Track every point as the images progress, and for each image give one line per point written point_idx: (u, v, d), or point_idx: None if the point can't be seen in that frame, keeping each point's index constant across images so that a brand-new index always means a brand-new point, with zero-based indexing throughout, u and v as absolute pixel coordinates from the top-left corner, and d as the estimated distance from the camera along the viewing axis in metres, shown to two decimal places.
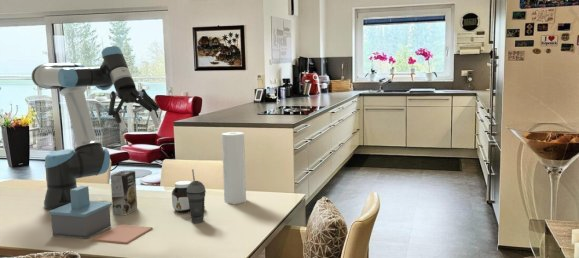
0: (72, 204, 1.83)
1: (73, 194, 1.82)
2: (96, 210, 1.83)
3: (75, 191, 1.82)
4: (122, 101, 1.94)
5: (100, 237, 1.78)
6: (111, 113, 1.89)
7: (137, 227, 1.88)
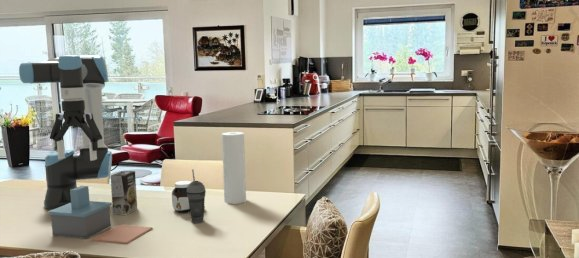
0: (72, 204, 1.83)
1: (73, 194, 1.82)
2: (96, 210, 1.83)
3: (75, 191, 1.82)
4: (63, 127, 1.82)
5: (100, 237, 1.78)
6: None
7: (137, 227, 1.88)
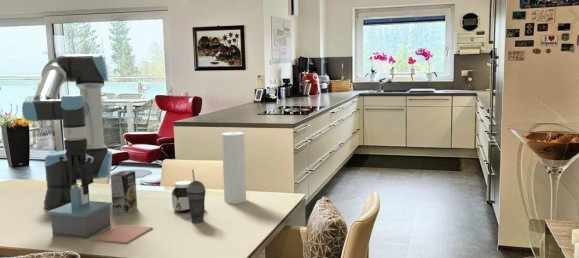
0: (72, 204, 1.83)
1: (73, 194, 1.82)
2: (96, 210, 1.83)
3: (75, 191, 1.82)
4: (70, 168, 1.83)
5: (100, 237, 1.78)
6: None
7: (137, 227, 1.88)
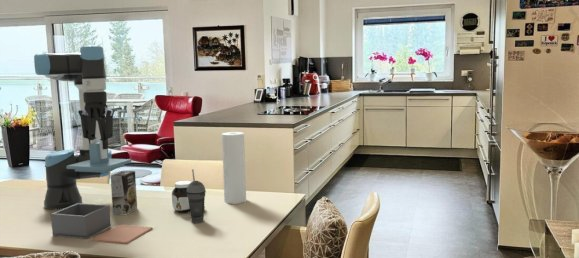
0: (91, 159, 1.78)
1: (92, 148, 1.77)
2: (115, 165, 1.77)
3: (94, 145, 1.77)
4: (90, 122, 1.78)
5: (100, 237, 1.78)
6: (87, 137, 1.80)
7: (137, 227, 1.88)
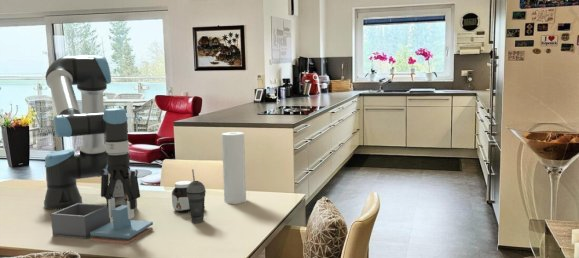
0: (114, 224, 1.79)
1: (116, 214, 1.78)
2: (139, 230, 1.79)
3: (118, 211, 1.78)
4: (110, 183, 1.79)
5: (100, 237, 1.78)
6: None
7: None
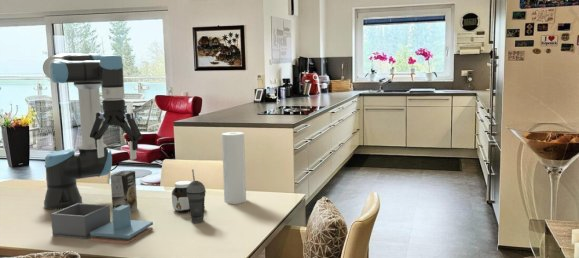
0: (114, 224, 1.79)
1: (116, 214, 1.78)
2: (139, 230, 1.79)
3: (118, 211, 1.78)
4: (103, 126, 1.84)
5: (100, 237, 1.78)
6: None
7: None
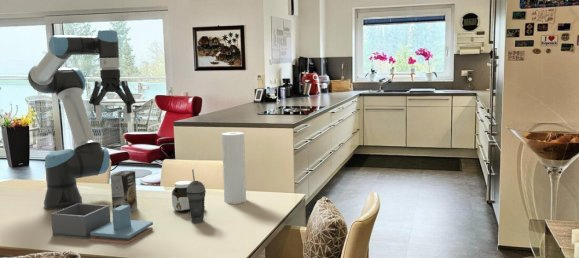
0: (114, 224, 1.79)
1: (116, 214, 1.78)
2: (139, 230, 1.79)
3: (118, 211, 1.78)
4: (101, 93, 2.09)
5: (100, 237, 1.78)
6: None
7: None
